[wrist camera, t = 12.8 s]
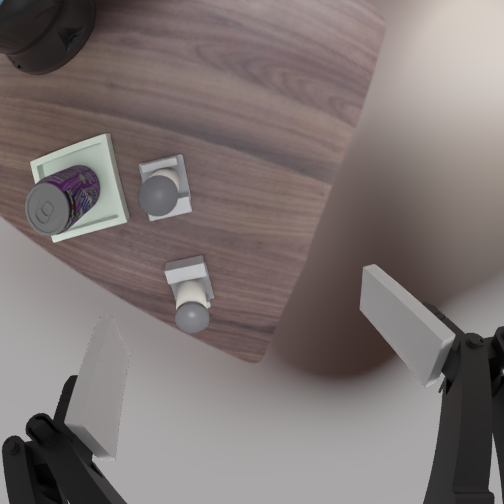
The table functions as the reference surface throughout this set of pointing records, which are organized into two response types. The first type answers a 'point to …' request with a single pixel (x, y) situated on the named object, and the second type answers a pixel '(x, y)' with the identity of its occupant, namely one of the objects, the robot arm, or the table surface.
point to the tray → (105, 167)
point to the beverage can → (61, 199)
